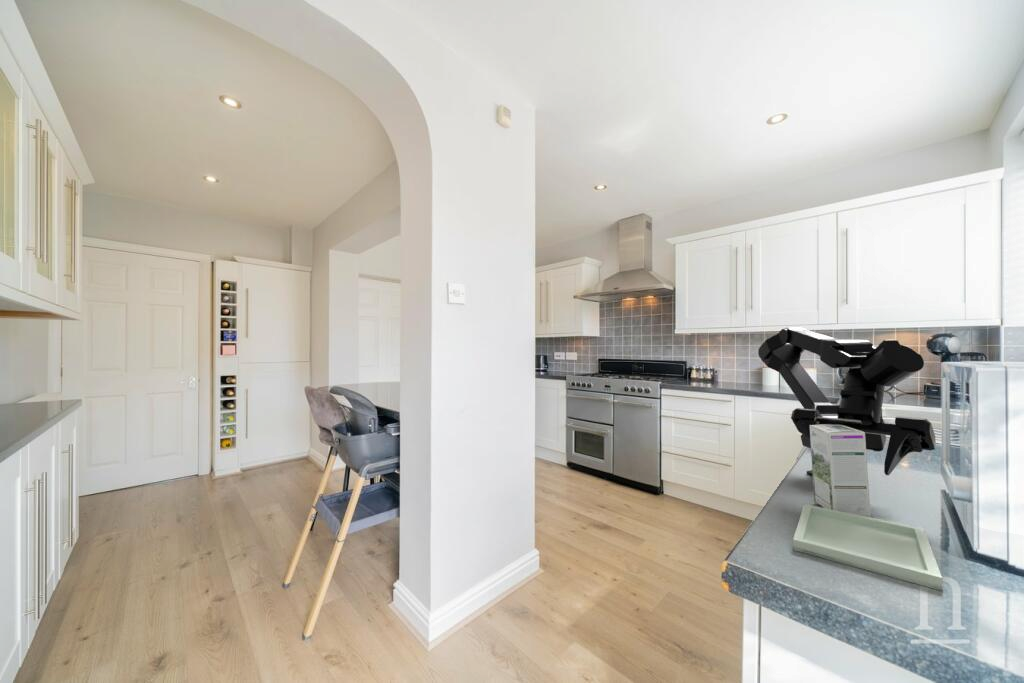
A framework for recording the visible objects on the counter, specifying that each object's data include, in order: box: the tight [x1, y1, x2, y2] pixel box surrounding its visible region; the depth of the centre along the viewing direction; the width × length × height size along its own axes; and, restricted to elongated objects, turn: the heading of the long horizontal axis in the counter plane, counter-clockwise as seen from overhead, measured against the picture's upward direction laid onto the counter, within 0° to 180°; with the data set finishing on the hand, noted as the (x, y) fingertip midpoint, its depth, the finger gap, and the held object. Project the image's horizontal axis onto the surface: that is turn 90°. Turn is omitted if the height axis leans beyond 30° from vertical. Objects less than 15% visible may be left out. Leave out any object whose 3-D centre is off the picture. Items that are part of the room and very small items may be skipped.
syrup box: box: [810, 424, 872, 518], centre depth 65 cm, size 6×6×14 cm
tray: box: [792, 503, 944, 591], centre depth 54 cm, size 16×14×2 cm
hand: (849, 467), depth 65 cm, fingers open, 9 cm apart
